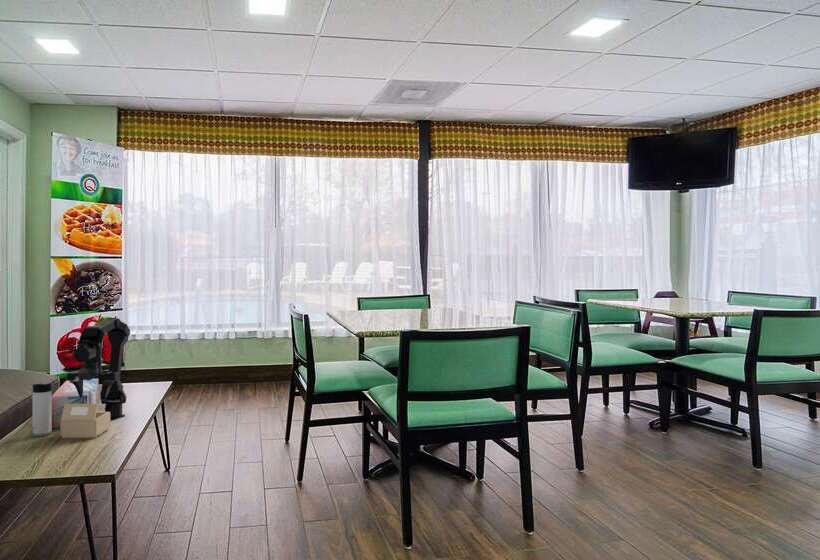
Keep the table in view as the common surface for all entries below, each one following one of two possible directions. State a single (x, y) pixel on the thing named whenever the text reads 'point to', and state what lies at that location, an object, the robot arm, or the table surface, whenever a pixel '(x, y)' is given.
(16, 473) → the table surface
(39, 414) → the travel mug
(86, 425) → the carton
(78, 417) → the carton flap
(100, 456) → the table surface
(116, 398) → the robot arm
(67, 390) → the soda box
